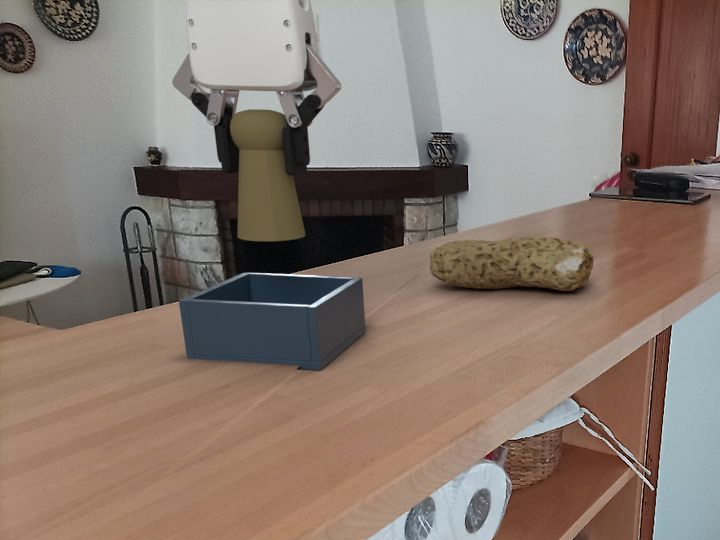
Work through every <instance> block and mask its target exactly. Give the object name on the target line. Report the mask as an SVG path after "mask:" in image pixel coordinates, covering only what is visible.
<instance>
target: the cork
mask: <svg viewBox="0 0 720 540" xmlns="http://www.w3.org/2000/svg"><path fill="white" fill-rule="evenodd" d="M285 127H287V119H286V117H285V114H284V113H282V112H279V111H277V110H272V109H258V108H257V109H254V108H253V109H244V110H241V111H238V112H237V111H236V113H235V114H234V115H233V117H232V119H231V123H230V132H231V136H232V139H233V142H234V143H235V144H236V146H237V147H238V148H239V172H238V195H237V196H238V197H237V238H238V239H240V240H243V241H249V242H251V241H252V242H283V241H291V240H292V241H293V240H299V239H302V238H304V237H306V231H305V226H304V221H303V217H302V212H301V207H300V203H299V199H298V194H297V189H296V184H295V181H294V175H288V174H287V173H286V169H285V158H284V147H283V136H282V130H283V128H285Z"/></svg>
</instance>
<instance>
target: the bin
mask: <svg viewBox="0 0 720 540" xmlns="http://www.w3.org/2000/svg"><path fill="white" fill-rule="evenodd" d="M364 299H365V298H364V283H363V277H353V276H336V275H335V276H332V275H312V274H311V275H309V274H293V273H292V274H288V273H271V272H270V273H267V272H247V271H246V272H242V273H239V274H237V275H235V276H233V277H231V278H228V279H226V280H223V281H221V282H219V283H216V284H214V285H212V286H209V287H207V288H205V289H202V290H201V291H200V290H199V291H198V292H195V293H193V294H191V295H189V296H186V297H184V298H181V299H179V300H178V305H179V306H178V307H179V312H180V320H181V325H182V335H183V340H184V347H185V354H186V358H187V359H188V360H203V361H218V362H219V361H220V362H237V363H251V364H252V363H254V364H255V363H256V364H272V365H287V366H289V365H290V366H298V367H297V368H296V370H305V371H306V370H307V371H322V370H323V369H324V368H325V367H326V366H327V365H329V364H330V363H332V362H333V360H335V359H337V357H338V356H340V355H341V354H342V353H343V352H344V351H345V350H347V349H348V348H349V347H350V346H352V344H354V343H355V342H356V341H357V340H358V339H360V338H361V337H362V336H363V335H364V334H365V333H366V317H365V316H366V315H365V300H364Z"/></svg>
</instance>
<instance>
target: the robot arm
mask: <svg viewBox="0 0 720 540" xmlns="http://www.w3.org/2000/svg"><path fill="white" fill-rule="evenodd" d="M185 20H186V36H187V37H186V38H187V48H188V53H187V55H186V57H185V58H184V60H183V62H182V63H181V65H180V67H179V68H178V70H177V71H176V73H175V74H174V76H173V78H172V83H171V84H172V86H173V87H174V88H175V89H176V90H177V91H178V92H179V93H180V94H182V95H183V96H184V97H185V98H186V99H188V100H189V101H191V103H192V105H193V106H194V107H195V108H196V109H197V110H198V111H199V112H200V113H201V114H202V115H203V116H204V117H205V118H206V121H207V123H208V124H209V125H210V126H212V127H213V130H214V137H215V147H216V154H217V159H218V162H219V163H220V164H221V171H222V173H223V174H235V173H239V148H238V147H237V146H236V144H235V143H234V142H233V139H232V136H231V132H230V123H231V119H232V117H233V115H234V114H236V113H237V107H238V102H239V96H240V91H250V92H251V91H253V92H275V93H276V95H277V98H278V100H279V102H280V106H281V109H282V111H283V114H284V115H285V117H286V119H287V127H285V128H283V130H282V136H283V147H284V158H285V169H286V173H287V174H288V175H293V176H299V175H303V174H307V172H308V166H309V165H310V163H311V153H310V141H309V128H308V127H310V126H312V125H313V121H314V119H315V118H316V117H317V116H318V115H319V114H320V113H321V111H322V110H323V109H324V107H325V106H326V104H328V103H329V102H330V101H331V100H332V99H333V98H334V97H335V96H336V95H338V93H339V92H340V91H341V90H342V83H341V82H340V80H339V79H338V78H337V76H336V75H335V74H334V72H333V71H332V70H331V69H330V68H329V67H328V65H327V64H326V62H324V60H323V59H322V58H321V56H320V51H319V44H318V37H317V29H316V24H315V19H314V11H313V8H312V3H311V0H185ZM203 88H205V89H209V90H210V92H206V91H205V90H204V89H203ZM312 90H313V91H312ZM308 91H310V92H311V91H312V92H311V93H310V94H308V95H306V97H305V94H304V92H308Z"/></svg>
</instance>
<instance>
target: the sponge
mask: <svg viewBox="0 0 720 540" xmlns="http://www.w3.org/2000/svg"><path fill="white" fill-rule="evenodd" d="M594 258H595V254H594V252H593V251H592V250H591V251H590V249H589V246H588V245H586V244H584V243H578V242H575V241H573V240H568V239H561V238H559V237H558V238H557V237H544V236H543V237H541V236H540V237H539V236H521V237H509V238H504V239H501V240H493V241H491V240H483V239H482V240H479V239H478V240H475V239H469V240H467V239H464V240H453V241H448V242H447V243H444V244H442V245H440V247H439V246H437V247H436V248H434V249H433V250H432V251H431V252H430V253H429V260H430V265H429V270H430V274H431V276H432V277H434V278H436V279H437V280H439V281H442V282H444V283H446V284H449V285H453V286H457V287H461V288H462V287H463V288H469V289H478V290H479V289H480V290H482V289H483V290H491V289H492V290H498V289H499V290H500V289H510V288H515V287H533V288H544V289H552V290H555V291H562V292H573V291H574V290H576V289H580V288H584V287H585V286H586V284H587V283H588V282H589V279H590V276H591V274H592V270H593V268H594Z"/></svg>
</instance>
